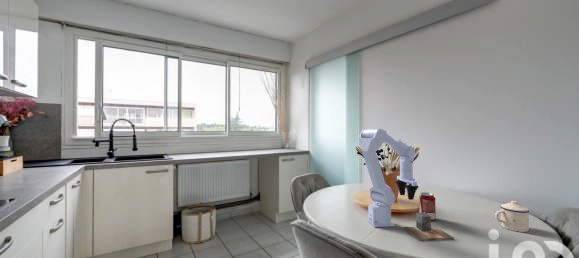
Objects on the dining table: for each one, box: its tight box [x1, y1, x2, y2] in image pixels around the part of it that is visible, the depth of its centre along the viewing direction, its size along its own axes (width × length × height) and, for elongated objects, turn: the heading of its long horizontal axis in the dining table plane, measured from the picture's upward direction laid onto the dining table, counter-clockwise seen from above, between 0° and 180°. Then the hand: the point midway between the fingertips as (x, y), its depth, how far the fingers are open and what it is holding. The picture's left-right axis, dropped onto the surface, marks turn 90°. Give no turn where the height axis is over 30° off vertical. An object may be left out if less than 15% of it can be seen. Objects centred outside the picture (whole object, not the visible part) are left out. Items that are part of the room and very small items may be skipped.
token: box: [415, 212, 432, 231], centre depth 100 cm, size 4×4×6 cm
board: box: [403, 225, 455, 242], centre depth 97 cm, size 14×11×1 cm
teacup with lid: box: [494, 200, 530, 233], centre depth 103 cm, size 12×9×12 cm
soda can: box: [418, 191, 437, 222], centre depth 114 cm, size 7×7×12 cm
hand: (406, 197), depth 118 cm, fingers open, 7 cm apart
